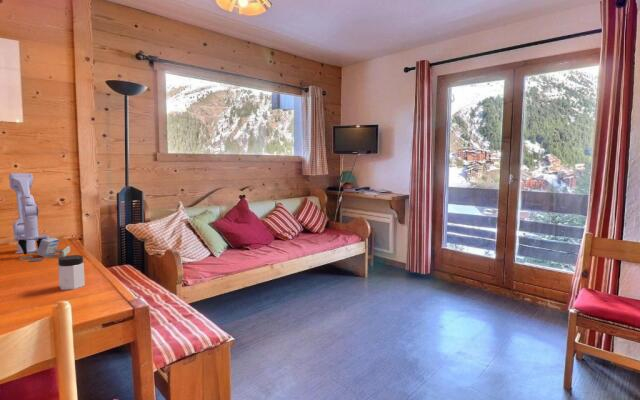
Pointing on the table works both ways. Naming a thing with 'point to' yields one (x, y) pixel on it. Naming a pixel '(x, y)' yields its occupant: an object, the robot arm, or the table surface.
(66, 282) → the jar
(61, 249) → the grey plate
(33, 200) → the robot arm
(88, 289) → the table surface
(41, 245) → the medicine box
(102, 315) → the table surface
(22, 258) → the channel
